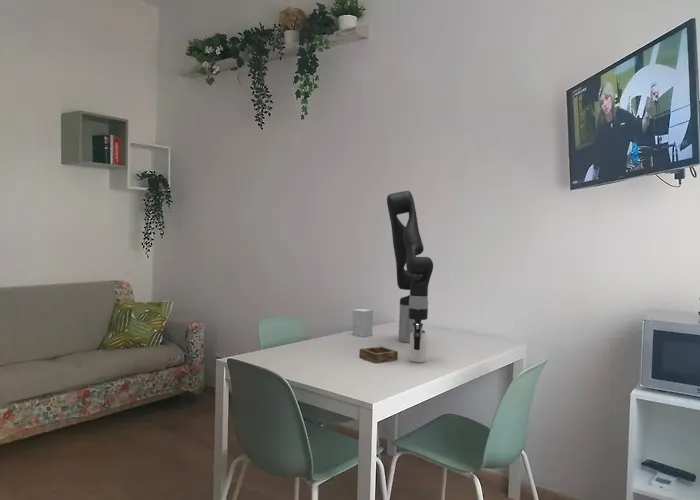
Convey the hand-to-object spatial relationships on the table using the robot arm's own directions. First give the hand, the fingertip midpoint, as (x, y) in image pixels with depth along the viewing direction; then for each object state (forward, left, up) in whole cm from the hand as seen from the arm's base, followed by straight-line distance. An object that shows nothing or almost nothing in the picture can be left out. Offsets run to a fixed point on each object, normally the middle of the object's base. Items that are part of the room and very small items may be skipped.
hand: (416, 347), depth 222 cm
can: (0, 0, -6) cm, 6 cm away
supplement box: (-10, -54, -6) cm, 55 cm away
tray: (+12, -10, -6) cm, 16 cm away
